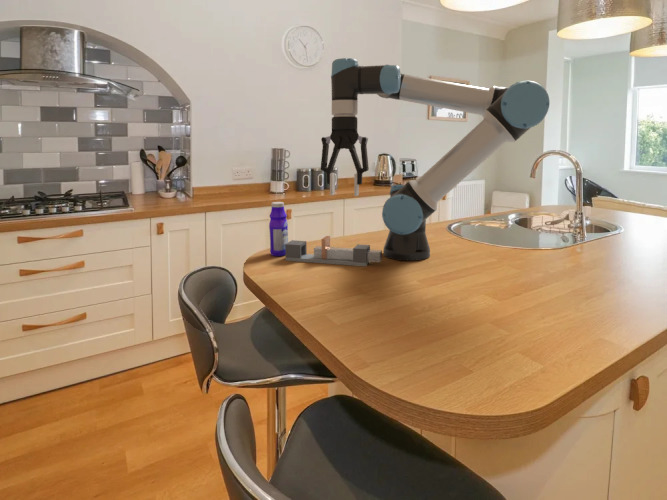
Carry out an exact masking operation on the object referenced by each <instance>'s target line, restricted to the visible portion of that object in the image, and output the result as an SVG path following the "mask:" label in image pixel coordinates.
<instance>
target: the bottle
mask: <svg viewBox="0 0 667 500" xmlns="http://www.w3.org/2000/svg"><path fill="white" fill-rule="evenodd" d="M270 205H271V210H270V214H269V218H270V220H269V223H268V224H269V226H268V228H269V229H268V230H269V251H270V255H271V256H272V257H282V256H286V251H285V244H286V243H288V242H289V232H288V231H289V230H288V229H289V227H288V226H289V225H288V220H287V216H288V215H287V213H286V211H285V202H283V201H273V202H271V204H270Z"/></svg>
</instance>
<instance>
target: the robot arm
mask: <svg viewBox="0 0 667 500" xmlns="http://www.w3.org/2000/svg"><path fill="white" fill-rule="evenodd" d="M358 62H359V61H358V60H357V59H356V58H352V57H351V58H350V57H349V58H347V57H343V58H337V59H334V60H333V61H332V63H331V75H330V79H331V80H330V81H331V115H332V117H331V132H330V135H329V136H323V137H321V143H322V149H321V150H322V151H321V159H320V160H321V161H320V171H321V172H325V173H326V184H327V185H329V196H334V195H336V173H335V172H334V171H333V170H334V167H335V164H336V162H337V159H338V156H339V153H340V151H341V150H343V149H345V150H348V152H350V155H351V158H352V162H353V165H354V168H355V171H356V173H354V176H353V177H354V186H353V188H354V190H353V196H354V197H358V196H359V195H360V185H362V184H363V173H366V172H368V171H369V160H368V159H369V158H368V148H367V144H368V141H369V138H368V137H366V136H361V135H359V132H358V117H357V115H358V107H359V106H358V105H359V104H358V102H359V101H358V99H359V98H358V96H359V95H377V96H378V97H380V98H383V99H392V100H397V101H402V102H403V101H404V102H409V103H415V104H421V105H426V106H431V107H435V108H442V109H447V110H452V111H456V112H457V111H458V112H463V113H468V114H474V115H479V116H482V117H483V120H480V122H479V123H478V124H477V125H476V126H475V127H474V128H473V129H472V130H470V131H469V132H468V133H467V134H466V135H465V136H464V137H463V138H462V139H461V140H459V141H458V143H456V144H455V145H454V146H453V147H452V148H451V149H449V150H448V151H447V153H445V154H444V155H443V156H442V157H440V159H439V160H438V161H436V162H435V164H433V166H431V167H430V168H429V169H428V170H427V171H426V172H425V173H423V174H422V175H421V176H420V177H419V178H418V179H409V180H408V181H407V182H406V183H405V184H393V185H392V186H391V187H390V189H389V190H390V192H389V198H388V199H387V200H386V201H385V203H384V204H383V207H382V215H381V216H382V221H383V224H384V226H386V228H387V229H388V235H387V238H386V241H385V243H384V246H383V256H384V257H385V258H388V259H392V260H399V261H421V260H426V259H428V258H430V257H431V247H430V245H429V240H428V237H427V233H426V225H427V219H428V218H429V217H431V216H432V214H434V213H435V212H436V211H437V210H438V203H439V201H441V200H442V199H443V198H444V197H445V196H446V195H448V194H449V193H450V192H451V191H452V190H453V189H454V188H455V187H456V186H458V185H459V184H460V183H461V182H463V180H465V178H467V177H468V176H469V175H470V174H471V173H472V172H473V171H475V169H477V168H478V167H480V166H481V165H482V164H483V163H484V162H485V161H486V160H487V159H488V158H490V156H492V155H493V154H494V153H495V152H496V151H497V150H499V149H500V148H501V147H502V146H503V145H505V143H515V142H516V141H517V140H519V139H520V138H521V137H522V136H523V135H524V134H526V133H527V132H528V131H529V130H530V129H531V128H534V127H535V126H537V125H539V124H540V123H541V122H543V120H544V119H545V117H546V116H547V114H548V112H549V109H550V97H549V93H548V92H547V90H546V88H545V87H544V86H543V85H542V84H540V83H538V82H536V81H533V80H520V81H516V82H515V83H513V84H512V85H509V86H496V85H493V86H492V87H490V88H487V87H480V86H475V85H469V84H462V83H457V82H451V81H446V80H445V81H444V80H439V79H435V78H430V77H429V78H428V77H421V76H418V75H417V76H416V75H411V74H405V73H401V68H400V66H399V65H397V64H393V65H392V64H391V65H390V64H382V65H367V66H363V65H359V63H358ZM331 141H332V143H333V144H334V145H333V149H332V152H331V156H330V159H329V150H330V149H329V147H330V143H331ZM357 142H358V143H359V144H360V153H361V155H360V156H361V162H360V159H359V158H360V157H359V156H358V153H357V148H356V146H355V145H356V143H357ZM328 160H329V163H328ZM361 163H362V164H361Z"/></svg>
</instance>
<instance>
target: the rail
mask: <svg viewBox="0 0 667 500" xmlns="http://www.w3.org/2000/svg"><path fill="white" fill-rule="evenodd" d="M307 248H308V247H307V240H296V239H295V240H293V239H291V240H290V241H288V243H286V244H285V251H286V254H285V261H287V262H299V263H301V262H302V263H315V264H326V265H327V264H328V265H343V266H355V267H367V265H368V264H369V263H370V262H369V261H367V250H371V245H370V244H360V243H359V244H358V243H357V244H356V245H355V246H354V247H353V248H352V249H353V260H340V259H322V258H314V253H313V254H312V253H307V251H308V250H307Z"/></svg>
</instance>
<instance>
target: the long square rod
mask: <svg viewBox="0 0 667 500" xmlns="http://www.w3.org/2000/svg"><path fill="white" fill-rule="evenodd" d="M313 254H314V258H322V259H340V260H353V248H351V247H349V248H348V247H332V246H331V236H330V235H325V236H324V237H322V239H321V245H319V246H318V245H317V246H314V248H313ZM382 259H383V251H382V250H380V249H370V250H367V261H369V263H372V262H373V263H381V262H382Z"/></svg>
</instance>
